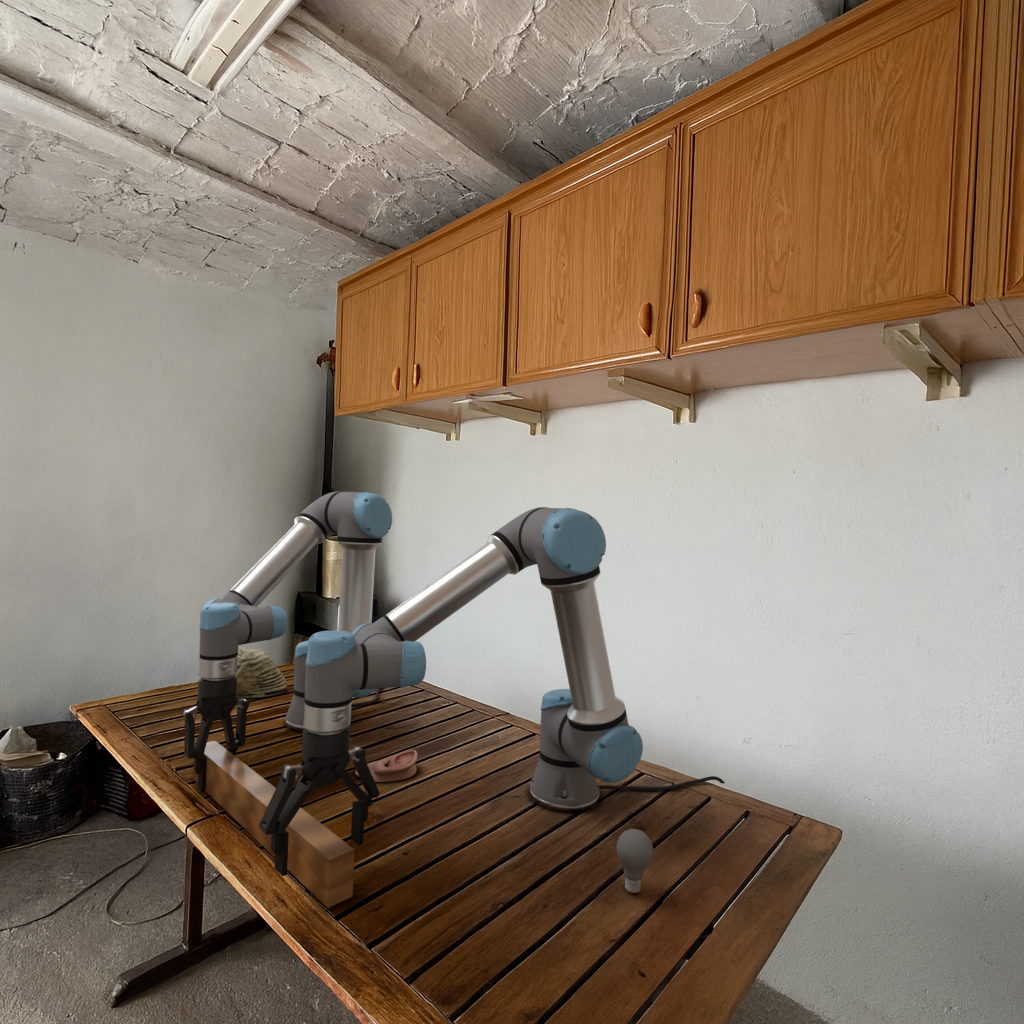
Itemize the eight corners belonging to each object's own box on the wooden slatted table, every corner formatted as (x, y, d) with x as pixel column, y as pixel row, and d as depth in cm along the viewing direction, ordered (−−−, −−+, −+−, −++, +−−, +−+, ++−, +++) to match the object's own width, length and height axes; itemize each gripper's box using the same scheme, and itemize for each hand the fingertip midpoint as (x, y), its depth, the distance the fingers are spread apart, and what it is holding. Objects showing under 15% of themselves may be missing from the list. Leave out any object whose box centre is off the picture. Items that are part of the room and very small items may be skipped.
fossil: (218, 695, 195) (220, 647, 195) (278, 685, 208) (279, 640, 207) (228, 703, 189) (230, 653, 188) (289, 692, 201) (290, 645, 201)
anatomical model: (349, 761, 142) (371, 742, 154) (348, 778, 142) (370, 758, 154) (405, 768, 140) (423, 749, 151) (404, 786, 140) (422, 765, 151)
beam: (193, 779, 139) (194, 745, 139) (213, 773, 142) (215, 740, 142) (327, 908, 98) (329, 859, 98) (352, 896, 101) (354, 849, 101)
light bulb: (610, 879, 108) (613, 822, 108) (644, 879, 109) (647, 822, 109) (619, 902, 102) (622, 840, 102) (655, 901, 103) (658, 840, 103)
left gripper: (180, 687, 127) (176, 802, 128) (265, 673, 140) (261, 778, 140) (167, 679, 132) (164, 789, 133) (251, 666, 145) (247, 767, 145)
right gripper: (261, 753, 92) (254, 897, 92) (403, 718, 110) (397, 839, 110) (240, 737, 97) (234, 874, 98) (379, 706, 115) (373, 822, 115)
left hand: (214, 783), depth 136 cm, fingers closed on beam, 4 cm apart
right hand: (320, 856), depth 104 cm, fingers open, 13 cm apart
